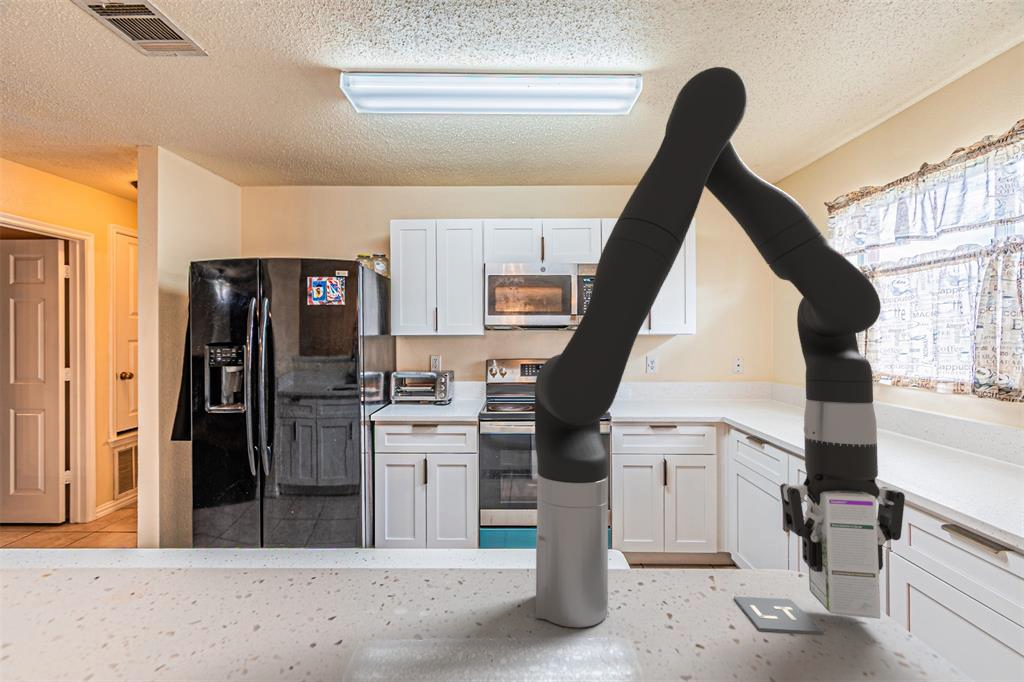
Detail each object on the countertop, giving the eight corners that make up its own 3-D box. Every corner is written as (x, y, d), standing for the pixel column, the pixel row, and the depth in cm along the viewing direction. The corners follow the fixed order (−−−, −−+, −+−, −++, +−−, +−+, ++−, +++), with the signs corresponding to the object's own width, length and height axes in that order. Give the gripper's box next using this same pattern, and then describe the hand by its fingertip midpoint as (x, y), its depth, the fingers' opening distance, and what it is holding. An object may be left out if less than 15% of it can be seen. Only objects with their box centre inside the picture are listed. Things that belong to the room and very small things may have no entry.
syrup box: (883, 620, 53) (880, 495, 54) (827, 614, 55) (825, 492, 55) (856, 595, 59) (854, 483, 60) (806, 590, 60) (804, 480, 61)
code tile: (759, 630, 54) (759, 627, 54) (733, 598, 62) (733, 595, 62) (823, 634, 54) (823, 631, 54) (790, 601, 61) (790, 598, 61)
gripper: (796, 440, 55) (799, 582, 54) (923, 443, 54) (928, 588, 53) (766, 431, 62) (768, 555, 61) (877, 433, 61) (880, 560, 60)
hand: (842, 570), depth 57 cm, fingers closed on syrup box, 6 cm apart
